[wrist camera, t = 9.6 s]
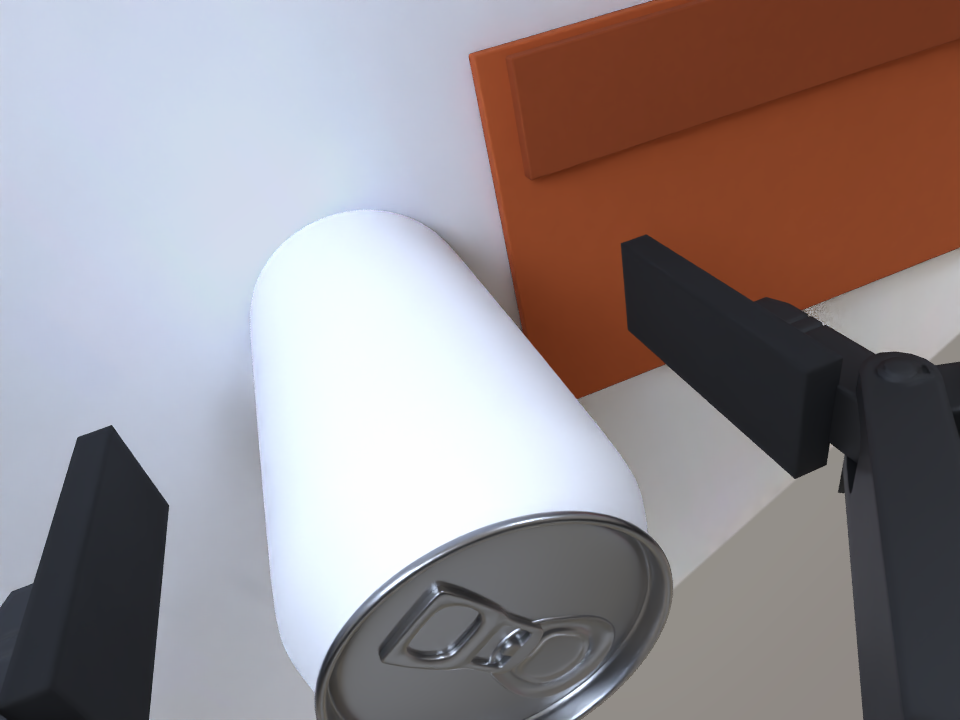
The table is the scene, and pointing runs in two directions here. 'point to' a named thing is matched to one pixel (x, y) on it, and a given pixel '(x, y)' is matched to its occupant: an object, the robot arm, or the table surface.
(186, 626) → the table surface
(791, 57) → the orange envelope wallet
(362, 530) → the can
